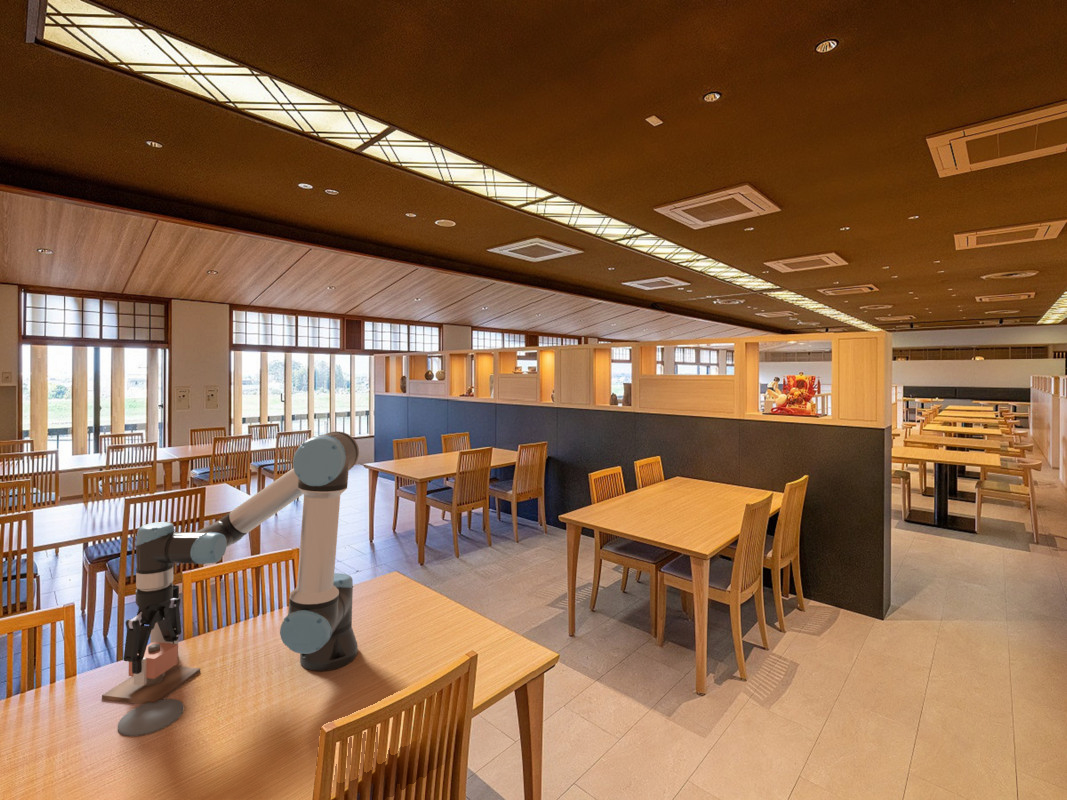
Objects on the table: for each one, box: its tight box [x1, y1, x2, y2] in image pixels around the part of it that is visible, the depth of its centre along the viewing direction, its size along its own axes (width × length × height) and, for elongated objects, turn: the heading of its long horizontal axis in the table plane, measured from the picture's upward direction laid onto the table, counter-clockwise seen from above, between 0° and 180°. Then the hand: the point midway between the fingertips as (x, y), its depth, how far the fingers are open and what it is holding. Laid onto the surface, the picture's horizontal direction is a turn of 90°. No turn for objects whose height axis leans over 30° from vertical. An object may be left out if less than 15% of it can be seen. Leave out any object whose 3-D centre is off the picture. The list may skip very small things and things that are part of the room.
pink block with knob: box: [128, 642, 179, 679], centre depth 127 cm, size 7×7×6 cm
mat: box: [117, 698, 185, 737], centre depth 115 cm, size 12×12×1 cm
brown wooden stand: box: [101, 665, 201, 705], centre depth 127 cm, size 14×14×7 cm
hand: (153, 675), depth 127 cm, fingers closed on pink block with knob, 7 cm apart
